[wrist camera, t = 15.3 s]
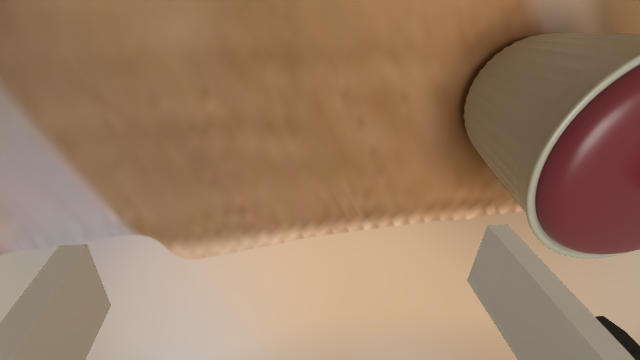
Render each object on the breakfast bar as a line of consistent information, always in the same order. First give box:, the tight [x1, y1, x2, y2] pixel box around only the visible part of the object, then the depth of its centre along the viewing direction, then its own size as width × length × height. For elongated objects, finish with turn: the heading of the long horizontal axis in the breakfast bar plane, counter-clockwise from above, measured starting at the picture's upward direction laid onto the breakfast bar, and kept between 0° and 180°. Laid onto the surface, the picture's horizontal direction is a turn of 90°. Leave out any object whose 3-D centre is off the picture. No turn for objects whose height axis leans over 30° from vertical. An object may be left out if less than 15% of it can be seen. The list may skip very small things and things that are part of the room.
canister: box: [464, 33, 640, 258], centre depth 30 cm, size 18×18×21 cm
